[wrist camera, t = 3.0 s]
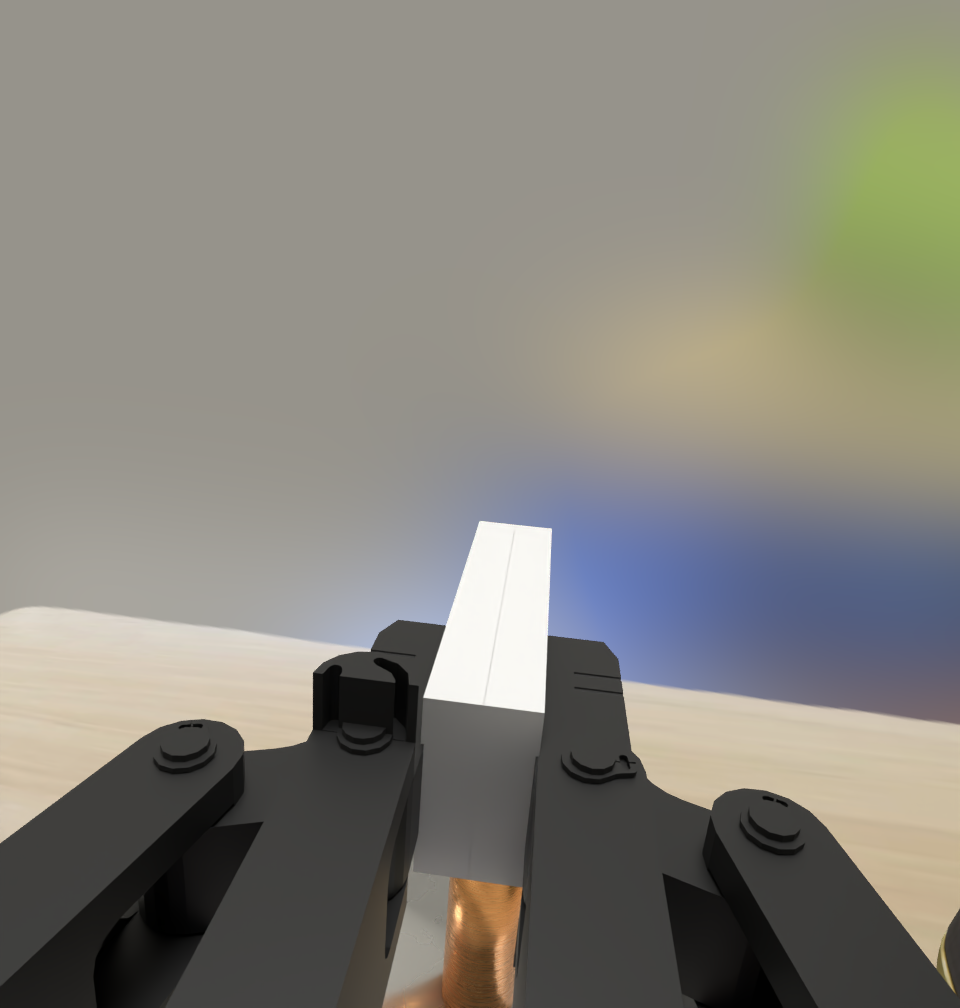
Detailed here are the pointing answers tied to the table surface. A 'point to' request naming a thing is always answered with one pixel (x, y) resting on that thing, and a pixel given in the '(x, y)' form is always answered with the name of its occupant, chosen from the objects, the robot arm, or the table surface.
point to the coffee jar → (951, 955)
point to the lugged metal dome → (455, 944)
